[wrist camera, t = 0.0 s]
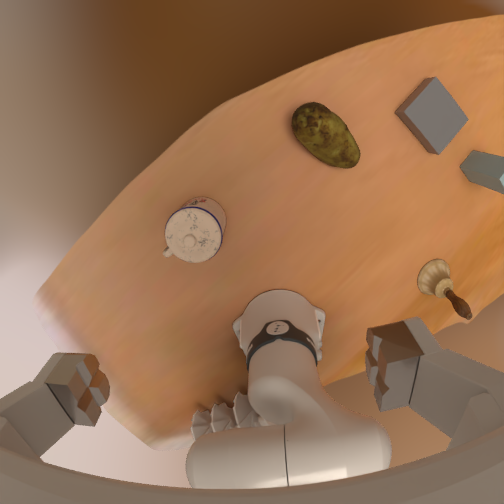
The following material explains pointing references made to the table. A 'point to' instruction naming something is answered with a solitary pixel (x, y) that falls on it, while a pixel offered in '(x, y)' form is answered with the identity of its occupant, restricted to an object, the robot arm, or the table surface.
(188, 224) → the teacup with lid
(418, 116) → the slate slab
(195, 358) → the table surface
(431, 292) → the hand bell
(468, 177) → the teal block
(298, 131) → the potato
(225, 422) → the spiral staircase
